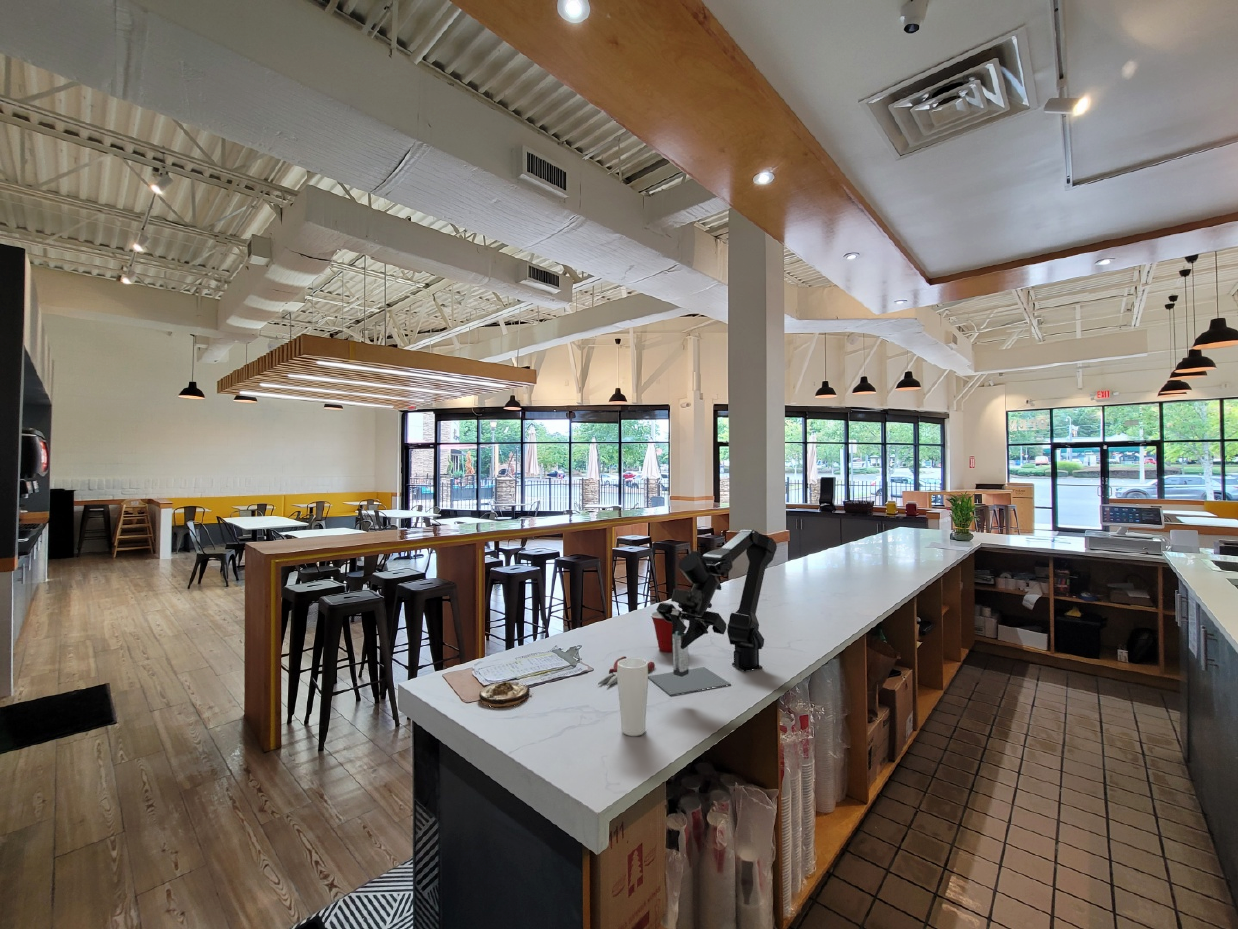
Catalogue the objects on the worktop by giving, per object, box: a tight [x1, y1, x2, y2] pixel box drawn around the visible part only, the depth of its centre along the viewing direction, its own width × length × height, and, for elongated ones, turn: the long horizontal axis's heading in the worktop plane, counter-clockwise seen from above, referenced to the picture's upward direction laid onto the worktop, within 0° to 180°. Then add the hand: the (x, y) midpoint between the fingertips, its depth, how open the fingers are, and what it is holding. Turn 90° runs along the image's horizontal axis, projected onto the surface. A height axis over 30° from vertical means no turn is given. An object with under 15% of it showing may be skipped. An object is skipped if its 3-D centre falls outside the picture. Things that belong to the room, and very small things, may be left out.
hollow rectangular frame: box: [672, 631, 689, 677], centre depth 135 cm, size 3×3×11 cm
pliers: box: [597, 656, 656, 687], centre depth 152 cm, size 12×20×3 cm, turn 149°
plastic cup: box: [649, 610, 673, 653], centre depth 175 cm, size 11×11×12 cm
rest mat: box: [648, 666, 732, 697], centre depth 147 cm, size 18×14×1 cm
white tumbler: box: [617, 657, 649, 737], centre depth 118 cm, size 7×7×15 cm
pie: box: [478, 680, 533, 709], centre depth 138 cm, size 15×15×4 cm
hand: (676, 647), depth 134 cm, fingers closed on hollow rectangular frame, 3 cm apart
